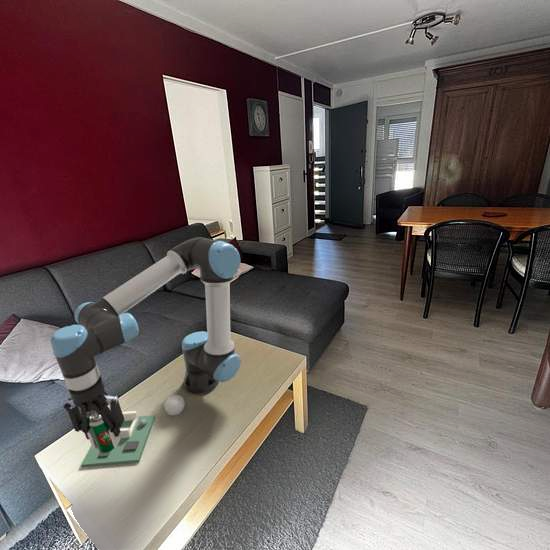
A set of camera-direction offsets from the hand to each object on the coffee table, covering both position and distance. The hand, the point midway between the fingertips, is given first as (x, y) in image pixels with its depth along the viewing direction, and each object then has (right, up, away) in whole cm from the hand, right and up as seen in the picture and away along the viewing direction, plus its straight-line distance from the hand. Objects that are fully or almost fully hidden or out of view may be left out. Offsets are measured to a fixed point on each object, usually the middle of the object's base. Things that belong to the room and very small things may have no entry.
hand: (107, 444), depth 88 cm
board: (-5, -9, +18) cm, 21 cm away
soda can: (0, -1, +1) cm, 1 cm away
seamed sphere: (+9, -4, +29) cm, 31 cm away
